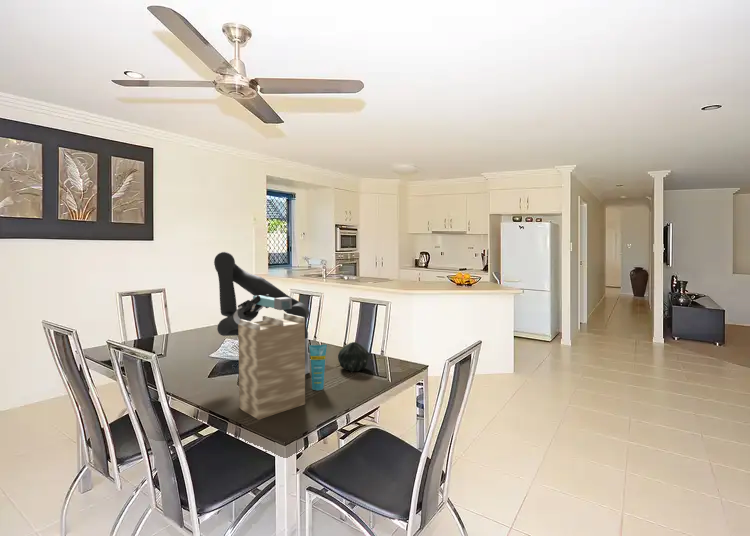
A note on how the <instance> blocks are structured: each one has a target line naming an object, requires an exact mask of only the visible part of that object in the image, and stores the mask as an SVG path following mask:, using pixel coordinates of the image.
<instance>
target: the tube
mask: <svg viewBox="0 0 750 536" xmlns="http://www.w3.org/2000/svg"><path fill="white" fill-rule="evenodd" d="M327 346H328V345H327V344H326V343H325V344H308V350H309V353H310V371H311V389H312V390H314V391H322V390H324V387H325V386H324V384H325V370H326V367H325V366H326V357H327V356H326V355H327Z"/></svg>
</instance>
